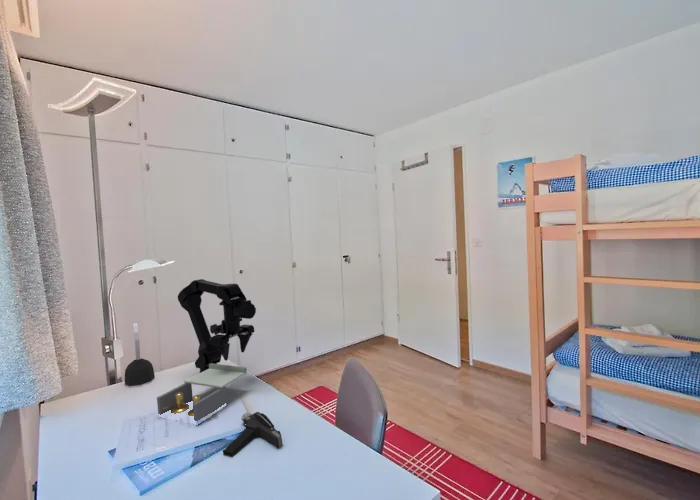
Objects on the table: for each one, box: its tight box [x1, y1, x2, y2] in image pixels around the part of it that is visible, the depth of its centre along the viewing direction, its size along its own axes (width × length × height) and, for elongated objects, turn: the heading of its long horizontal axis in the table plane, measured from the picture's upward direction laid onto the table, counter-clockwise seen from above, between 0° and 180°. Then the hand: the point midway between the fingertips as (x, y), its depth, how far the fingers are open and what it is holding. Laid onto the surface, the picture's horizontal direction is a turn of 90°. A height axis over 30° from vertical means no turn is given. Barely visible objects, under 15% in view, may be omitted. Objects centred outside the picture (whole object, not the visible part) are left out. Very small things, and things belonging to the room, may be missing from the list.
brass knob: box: [188, 394, 201, 416], centre depth 115 cm, size 6×6×6 cm
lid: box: [183, 363, 248, 389], centre depth 128 cm, size 13×17×2 cm
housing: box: [156, 383, 228, 421], centre depth 118 cm, size 13×17×7 cm
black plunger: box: [124, 322, 156, 389], centre depth 147 cm, size 11×11×25 cm
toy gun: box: [222, 411, 284, 458], centre depth 101 cm, size 5×21×15 cm
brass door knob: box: [171, 392, 189, 414], centre depth 118 cm, size 6×6×6 cm
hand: (234, 356), depth 137 cm, fingers open, 9 cm apart
